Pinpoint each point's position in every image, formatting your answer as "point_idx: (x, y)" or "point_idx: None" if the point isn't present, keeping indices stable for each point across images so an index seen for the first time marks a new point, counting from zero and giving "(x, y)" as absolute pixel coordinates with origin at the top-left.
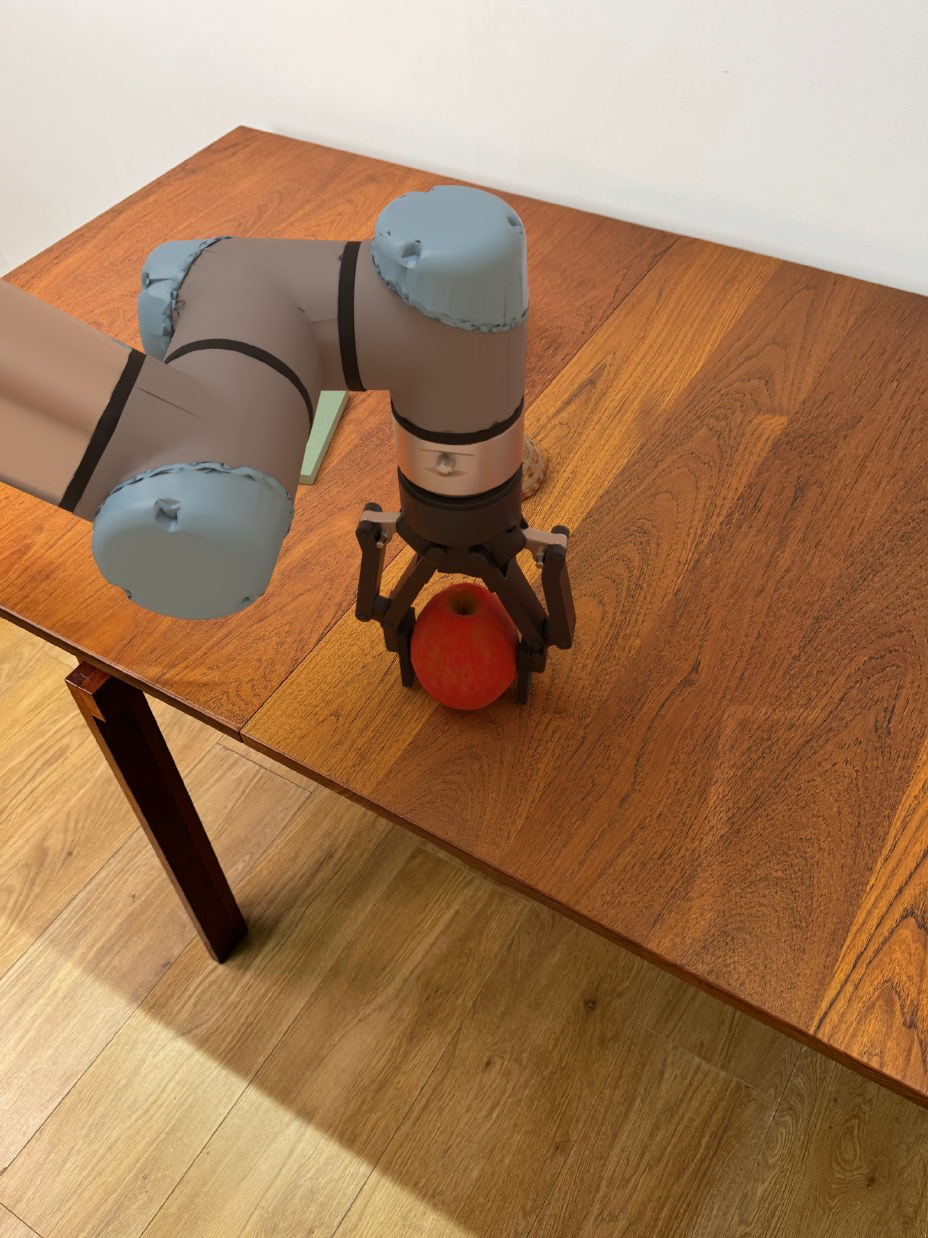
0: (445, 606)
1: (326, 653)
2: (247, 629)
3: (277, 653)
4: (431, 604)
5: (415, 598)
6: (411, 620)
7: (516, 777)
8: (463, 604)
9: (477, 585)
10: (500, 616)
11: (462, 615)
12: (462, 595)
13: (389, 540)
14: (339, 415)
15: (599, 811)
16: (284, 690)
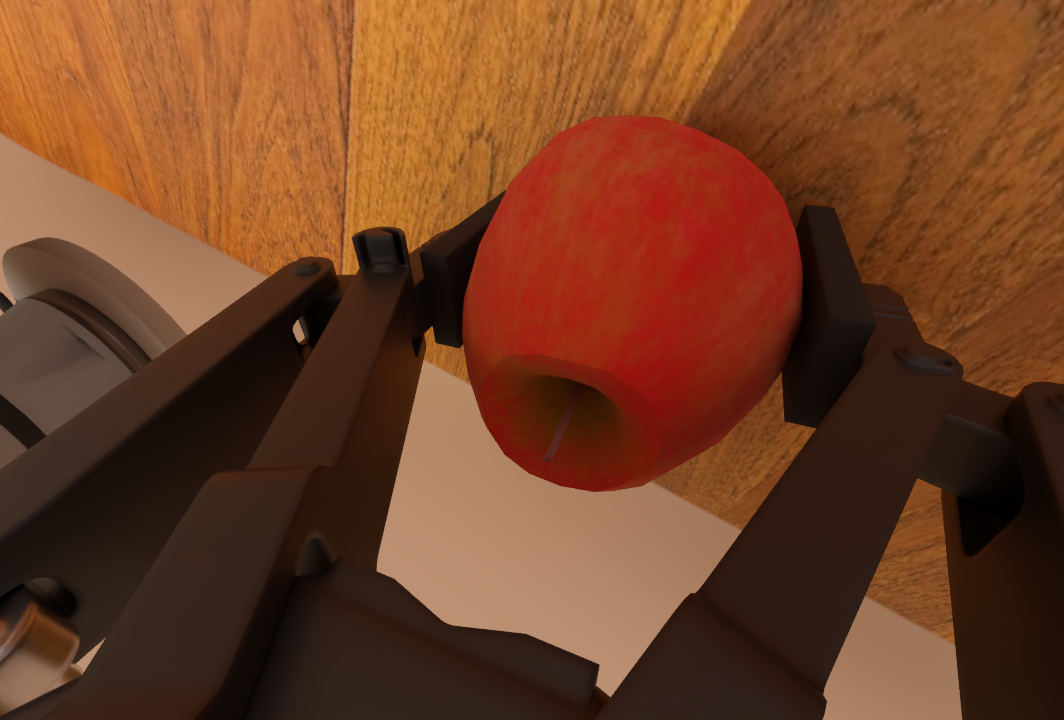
0: (508, 426)
1: (371, 168)
2: (232, 125)
3: (303, 177)
4: (469, 378)
5: (397, 467)
6: (456, 291)
7: (757, 419)
8: (567, 421)
9: (608, 355)
10: (719, 419)
11: (571, 467)
12: (547, 461)
13: (61, 664)
14: None
15: (917, 489)
16: (352, 253)
